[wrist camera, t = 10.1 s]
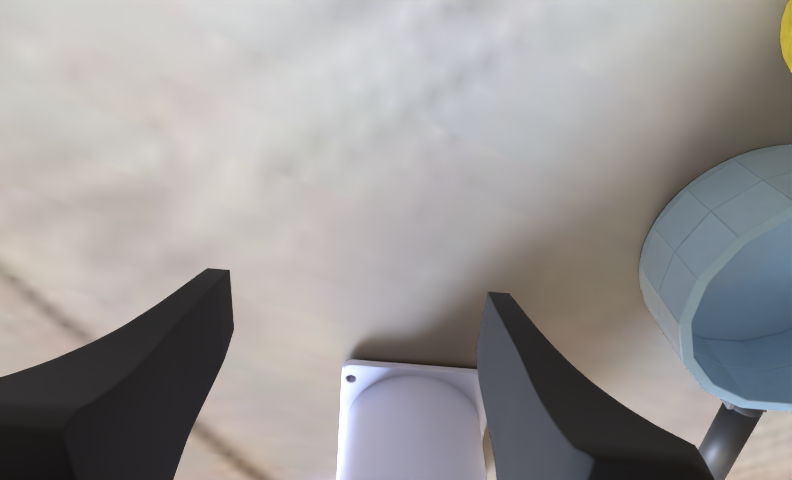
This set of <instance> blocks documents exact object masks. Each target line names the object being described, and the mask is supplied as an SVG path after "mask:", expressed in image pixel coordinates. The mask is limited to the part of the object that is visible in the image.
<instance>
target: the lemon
mask: <svg viewBox="0 0 792 480" xmlns="http://www.w3.org/2000/svg"><path fill="white" fill-rule="evenodd" d="M780 42H781V48H782V53H783V58H784V60H785V62H786V64H787V66H788V67H789V69H790V71H791V73H792V0H788V2H787V5H786V8H785V11H784V14H783V17H782V22H781V32H780Z"/></svg>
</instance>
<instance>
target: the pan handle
mask: <svg viewBox="0 0 792 480" xmlns="http://www.w3.org/2000/svg"><path fill="white" fill-rule="evenodd" d="M720 399H721V398H720ZM721 400H722V402H723V403H722V405H721V407H720V409H719V411H718V413H717V415H716V417H715V418H714V420H713V422H712V424H711V426H710V428H709V430H708V432H707V434H706V436H705V438H704V440H703V442H702V443H701V445H700V447H699V449H698V451H699V452H700V454H701V456H702V457H703V459H704V460H705V462H706V464H707V466H708V468H709V469H710V471H711V473H712V475H713V477H714V479H715V480H725V478H726V476H727V474H728V473H729V471H730V469H731V467H732V466H733V464H734V462H735V460H736V459H737V457H738V455H739V454H740V452H741V450H742V448H743V447H744V445H745V443H746V441H747V440H748V438H749V436H750V434H751V433H752V431H753V429H754V428H755V426H756V424H757V422H758V421H759V419H760V417H761V415H762V413H763V412H766V411H767V410H762V409H749V408H742V407H738V406H736V405H734V404H732V403H730V402H728V401H725V400H723V399H721Z"/></svg>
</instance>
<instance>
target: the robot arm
mask: <svg viewBox="0 0 792 480" xmlns="http://www.w3.org/2000/svg"><path fill="white" fill-rule="evenodd" d="M233 330H234V322H233V309H232V296H231V283H230V270H222V269H210V268H207V269H206V270H204V271H203V272H201V273H200V274H199V275H197V276H196V277H195V278H193V279H192V280H190V281H189V282H188V283H186V284H185V285H184V286H182V287H181V288H180V289H178V290H177V291H175V292H174V293H173V294H171V295H170V296H168V297H167V298H166V299H164V300H163V301H161V302H160V303H159V304H157V305H156V306H154V307H152V308H151V309H149V310H148V311H146V312H145V313H143V314H142V315H140V316H138V317H137V318H135V319H134V320H132V321H131V322H129V323H127V324H126V325H124V326H122V327H120V328H119V329H117V330H115V331H113V332H111V333H109V334H108V335H106V336H104V337H102V338H100V339H98V340H96V341H94V342H92V343H90V344H88V345H85V346H83V347H81V348H78V349H76V350H74V351H72V352H69V353H67V354H65V355H62V356H60V357H58V358H55V359H53V360H50V361H48V362H45V363H42V364H40V365H37V366H34V367H31V368H28V369H25V370H22V371H19V372H16V373H13V374H10V375H7V376H4V377H0V480H173V479H174V476H175V473H176V470H177V467H178V464H179V461H180V458H181V455H182V453H183V450H184V447H185V444H186V441H187V439H188V436H189V434H190V432H191V429H192V427H193V425H194V422H195V420H196V418H197V416H198V414H199V412H200V410H201V408H202V406H203V404H204V402H205V400H206V397H207V395H208V393H209V391H210V389H211V387H212V385H213V383H214V381H215V379H216V377H217V374H218V372H219V370H220V368H221V366H222V364H223V361H224V359H225V356H226V353H227V350H228V347H229V344H230V340H231V337H232V334H233ZM476 355H477V369H467V368H454V367H442V366H429V365H417V364H404V363H392V362H379V361H367V360H354V359H351V360H347V361H345V362H344V363H343V367H342V380H341V401H340V421H339V442H338V462H337V480H487V474H486V467H485V460H484V453H483V446H482V441H483V437H484V433H485V428H486V424H488V429H489V434H490V438H491V443H492V448H493V454H494V460H495V467H496V477H497V480H715V479H714V477H713V475H712V473H711V471H710V469H709V468H708V466H707V464H706V462H705V460H704V459H703V457H702V456H701V454H700V452H699V451H698V449H697V448H696V446H695V445H693V444H691V443H689V442H687V441H685V440H683V439H681V438H679V437H677V436H675V435H673V434H671V433H669V432H668V431H666V430H664V429H662V428H660V427H658V426H656V425H654V424H653V423H651V422H649V421H648V420H646V419H644V418H643V417H641V416H639V415H638V414H636V413H635V412H633V411H631V410H630V409H628V408H627V407H625V406H624V405H622V404H621V403H619V402H618V401H617V400H615V399H614V398H612V397H611V396H610V395H608V394H607V393H605V392H604V391H603V390H601V389H600V388H599V387H598V386H596V385H595V384H594V383H592V382H591V381H590V380H589V379H588V378H587V377H585V376H584V375H583V374H582V373H581V372H580V371H578V370H577V369H576V368H575V367H574V366H573V365H572V364H571V363H570V362H569V361H568V360H567V359H566V358H565V357H564V356H563V355H562V354H561V353H560V352H559V351H558V350H557V349H556V348H555V347H554V346H553V345H552V344H551V343H550V342H549V341H548V340H547V339H546V338H545V336H544V335H543V334H542V333H541V332H540V331H539V330H538V328H537V327H536V326H535V325H534V324H533V322H532V321H531V320H530V319H529V317H528V316H527V315H526V314H525V313H524V311H523V310H522V309H521V307H520V306H519V305H518V304H517V302H516V301H515V300H514V299H513V297H512V296H511V295H510V294H509V293H498V292H487V297H486V302H485V307H484V312H483V317H482V322H481V327H480V332H479V337H478V341H477V346H476ZM348 375H354V376H355V377H350V376H348Z"/></svg>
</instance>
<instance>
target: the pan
mask: <svg viewBox="0 0 792 480" xmlns="http://www.w3.org/2000/svg"><path fill="white" fill-rule="evenodd" d="M639 282H640V287H641V292H642V295H643V297H644V302H645V305H646V306H647V308H648V310H649V311H650V313H651V314H652V316H653V318H654V319H655V321H656V322H657V324H658V325H659V327H660V329H661V330H662V331H663V333H664V335H665V336H666V338H667V340H668V341H669V343H670V344H671V346H672V347H673V349H674V351H675V352H676V354H677V355H678V357H679V358H680V360H681V362H682V363H683V364H684V366H685V367H686V368H687V370H688V371H689V372H690V373H691V375H692V376H693V377H694V379H695V380H696V381H697V383H698V384H699V385H700V386H701V388H702V389H703V390H704V391H706V392H708V393H710V394H712V395H714V396H717V397H719V398H721V399H723V400H725V401H728V402H730V403H732V404H734V405H736V406H738V407H742V408H749V409H762V410H775V411H792V144H787V145H777V146H770V147H766V148H761V149H756V150H753V151H750V152H747V153H744V154H741V155H738V156H736V157H733V158H731V159H729V160H727V161H724V162H722V163H720V164H718V165H717V166H715V167H713V168H711V169H710V170H708V171H706V172H705V173H703V174H702V175H700V176H699V177H697V178H696V179H695V180H693V181H692V182H691V183H689V184H688V185H687V186H686V187H685V188H684V189H682V190H681V191H680V192H679V193H678V194H677V195H676V196H675V197H674V198H673V199H672V200H671V201H670V202H669V203H668V204H667V206H666V207H665V208H664V210H663V211H662V212H661V213H660V215H659V216H658V217H657V219H656V221H655V222H654V224H653V226H652V228H651V229H650V231H649V233H648V236H647V238H646V240H645V243H644V246H643V249H642V253H641V256H640V264H639Z"/></svg>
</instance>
